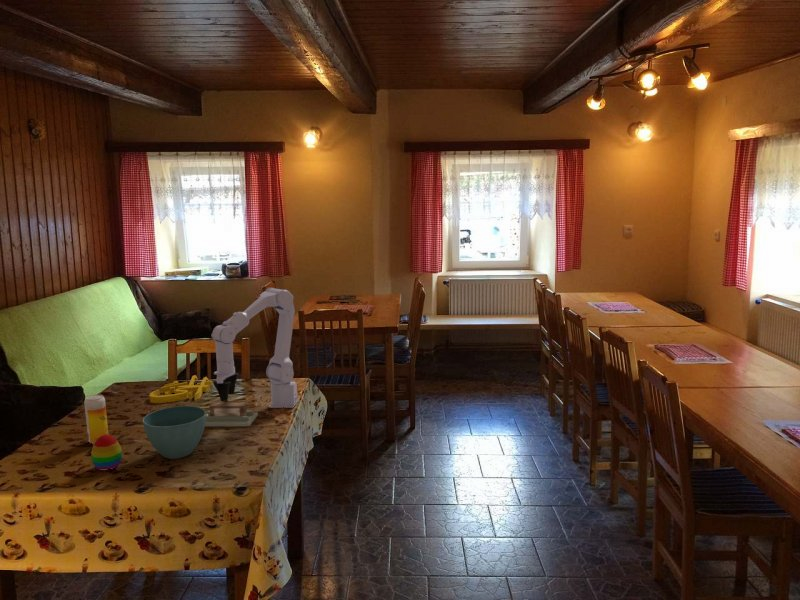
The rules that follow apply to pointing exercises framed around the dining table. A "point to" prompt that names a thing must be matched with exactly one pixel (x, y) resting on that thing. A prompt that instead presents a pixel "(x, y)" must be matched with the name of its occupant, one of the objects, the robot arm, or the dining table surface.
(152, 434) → the teal bowl
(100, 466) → the decorative egg
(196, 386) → the decorative art
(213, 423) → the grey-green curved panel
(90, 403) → the yellow bottle
